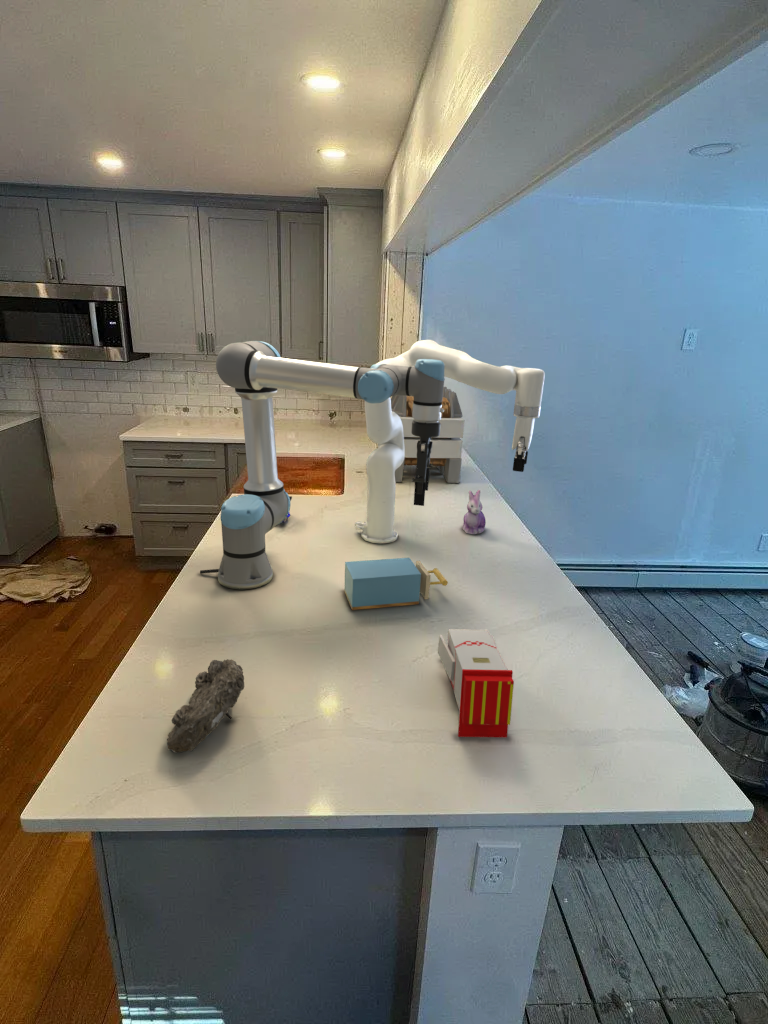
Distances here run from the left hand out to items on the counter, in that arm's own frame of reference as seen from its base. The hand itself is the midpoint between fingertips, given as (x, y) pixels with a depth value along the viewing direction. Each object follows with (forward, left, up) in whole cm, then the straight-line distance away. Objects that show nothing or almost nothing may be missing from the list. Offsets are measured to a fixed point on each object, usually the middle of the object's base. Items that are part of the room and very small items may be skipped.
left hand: (421, 497), depth 156 cm
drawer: (-2, -9, -25) cm, 27 cm away
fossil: (-28, -67, -26) cm, 77 cm away
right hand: (+26, +26, +4) cm, 37 cm away
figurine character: (-56, +35, -26) cm, 71 cm away
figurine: (+14, +48, -26) cm, 56 cm away
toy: (+19, -46, -26) cm, 56 cm away
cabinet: (-8, -12, -26) cm, 30 cm away
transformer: (-17, +116, -26) cm, 120 cm away
